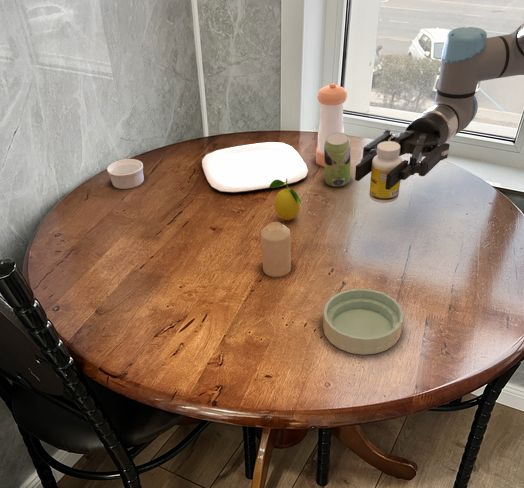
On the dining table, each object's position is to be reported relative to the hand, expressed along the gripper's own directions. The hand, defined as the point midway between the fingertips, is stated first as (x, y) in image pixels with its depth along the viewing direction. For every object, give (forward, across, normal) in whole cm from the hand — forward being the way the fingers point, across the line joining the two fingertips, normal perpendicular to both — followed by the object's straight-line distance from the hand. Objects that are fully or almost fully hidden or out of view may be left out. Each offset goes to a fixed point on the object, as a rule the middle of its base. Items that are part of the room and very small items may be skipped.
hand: (372, 177), depth 95 cm
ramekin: (+2, +67, -18) cm, 69 cm away
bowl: (+18, -10, -18) cm, 27 cm away
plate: (-20, +44, -18) cm, 51 cm away
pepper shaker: (-34, +30, -18) cm, 49 cm away
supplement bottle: (-5, 0, -6) cm, 8 cm away
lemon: (-4, +22, -18) cm, 29 cm away
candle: (+12, +13, -18) cm, 25 cm away
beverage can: (-25, +22, -18) cm, 38 cm away
